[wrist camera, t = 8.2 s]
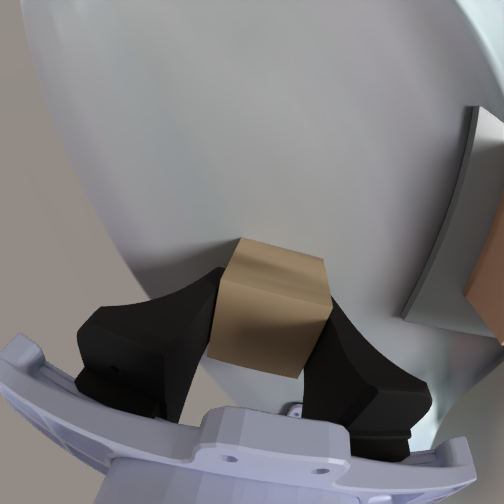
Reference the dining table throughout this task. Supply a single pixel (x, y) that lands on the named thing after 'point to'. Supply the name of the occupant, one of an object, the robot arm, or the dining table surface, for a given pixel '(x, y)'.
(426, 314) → the slate tray
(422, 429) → the dining table surface
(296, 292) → the oak block
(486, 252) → the terracotta box
